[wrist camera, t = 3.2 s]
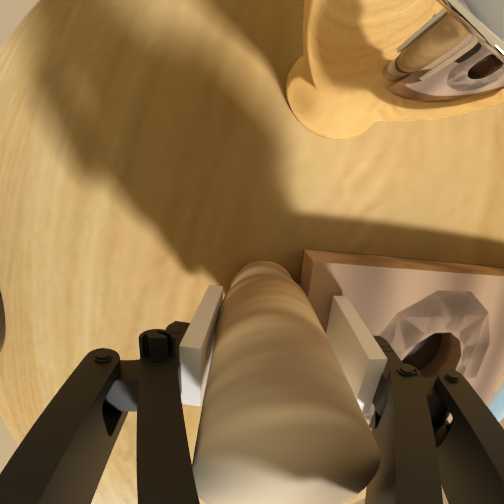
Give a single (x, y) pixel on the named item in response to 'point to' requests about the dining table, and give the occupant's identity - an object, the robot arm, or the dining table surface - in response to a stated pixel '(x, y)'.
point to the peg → (278, 403)
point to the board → (418, 310)
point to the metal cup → (395, 62)
